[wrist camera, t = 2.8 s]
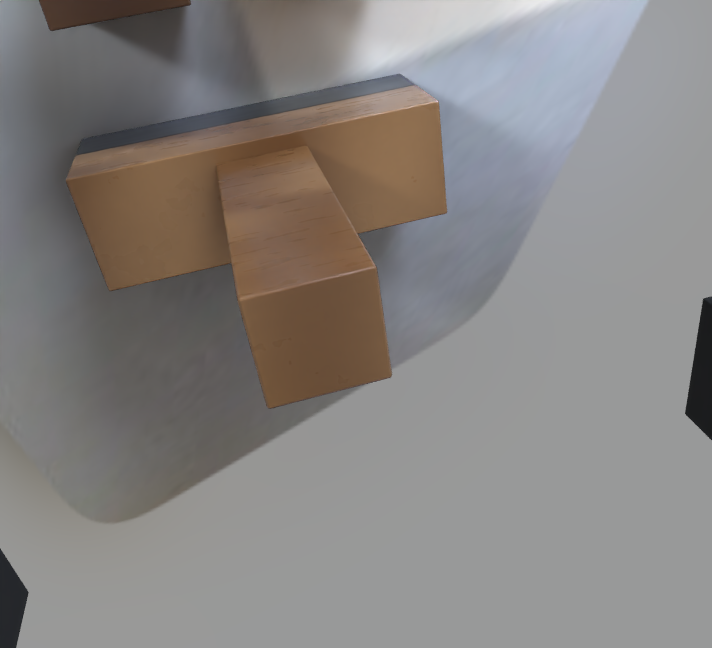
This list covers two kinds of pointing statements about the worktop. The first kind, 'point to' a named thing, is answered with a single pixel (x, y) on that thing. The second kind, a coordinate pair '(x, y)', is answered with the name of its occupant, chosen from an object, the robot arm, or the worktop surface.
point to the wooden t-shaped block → (273, 217)
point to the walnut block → (99, 10)
